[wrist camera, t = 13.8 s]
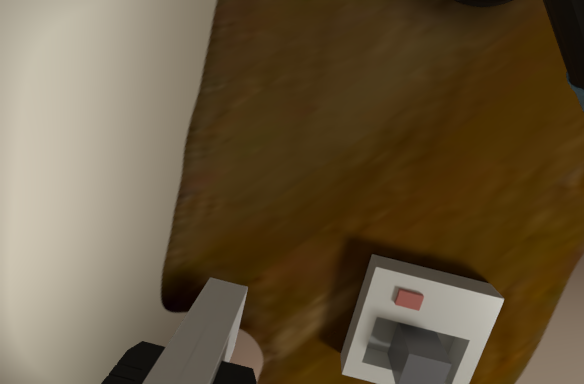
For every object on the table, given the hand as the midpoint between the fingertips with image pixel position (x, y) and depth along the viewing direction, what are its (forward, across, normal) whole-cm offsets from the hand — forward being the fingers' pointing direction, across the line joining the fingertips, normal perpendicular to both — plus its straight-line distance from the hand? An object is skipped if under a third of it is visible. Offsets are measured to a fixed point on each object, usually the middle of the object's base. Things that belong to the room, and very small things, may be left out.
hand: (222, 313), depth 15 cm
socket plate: (+34, +21, -17) cm, 44 cm away
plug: (+34, +21, -19) cm, 44 cm away
